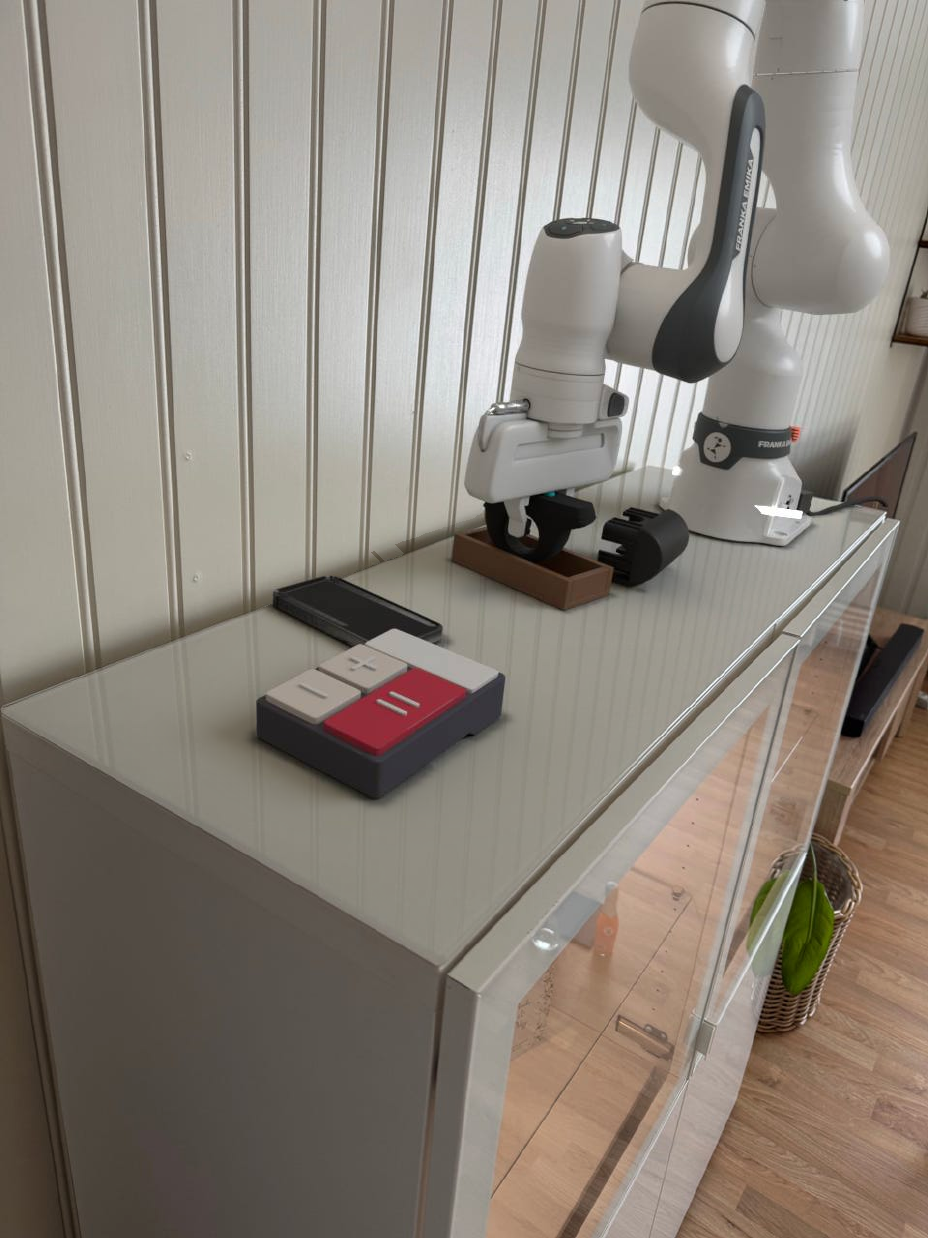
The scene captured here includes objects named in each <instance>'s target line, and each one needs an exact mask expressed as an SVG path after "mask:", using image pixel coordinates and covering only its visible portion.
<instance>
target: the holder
mask: <svg viewBox="0 0 928 1238" xmlns="http://www.w3.org/2000/svg"><path fill="white" fill-rule="evenodd" d="M518 539H519V540H520V541H521V543H522V544H523V545H525V546H526V547H528V548H531V549H533V548H535V547H536V546H537V544H538V539H539V536H535V535H533V534H531V533H530V534H529V535H526V536H522V537H518ZM451 551H452V552H451V561H452V562H455V563H456V564H459V565H461V566H463V567H466V568H468V569H470V570H472V571H475V572H477V573H479V574H482V575H484V576H485V577H488V578H490V579H493V580H495V581H497V582H499V583H501V584H504V585H505V586H508V587H510V588H513V589H514V590H516V591H519V592H522V593H524V594H526V595H528V596H530V597H533V598H534V599H537V600H539V601H542V602H544V603H546V604H548V605H551V606H553V607H555V608H557V609H558V610H559V609H560V610H562V611H566V610H569V609H572V608H576V607H578V606H581V605H584V604H587V603H589V602H592V601H595V600H599V599H601V598H604V597H607V596H609V594H610V589H611V584H612V582H611V580H612V574H613V569H614V567H611V566H609V565H606V564H604V563H601V562H599V561H597V559H594V558H591V557H588V556H587V555H583V554H581V553H579V552H576V551H573V550H570V549H568V548H566V547H564V548H563V549H562V550H561V551H560V552H559V553H558V554H557V555H555V556H554V557H552V558H550V559H548V560H546V561H544V562H541V563H537V564H534V563H531V562H529V561H527V560H524V559H522V558H519V557H517V556H515V555H512V554H510V553H507V552H505V551H503V550H500V549H498V548H497V547H496V546H495V545H494V543H493V542H492V540H491V538H490V536H489V533H488V530H487V526H483V527H482V526H481V527H478V528H474V529H473V528H472V529H469V530H464V531H461V532H455V533H454V535H453V543H452V550H451Z"/></svg>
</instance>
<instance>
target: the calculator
mask: <svg viewBox="0 0 928 1238" xmlns="http://www.w3.org/2000/svg"><path fill="white" fill-rule="evenodd" d="M505 686H506V675H505V674H504V673H502V672H500V671H498V670H497V669H495V668H493V667H490V666H488V665H485V664H483V663H480V662H478V661H475V660H474V659H471V658H469V657H465V656H463V655H460V654H458V653H456V652H454V651H451V650H449V649H447V648H444V647H441V646H439V645H436V644H435V643H434V644H432V643H429V642H427V641H425V640H422V639H420V638H417V637H415V636H412V635H410V634H408V633H405V632H403V631H400V630H397V629H391V630H389V631H387V632H385V633H383V634H381V635H379V636H378V637H376V638H374V639H372V640H370V641H368V642H366V643H364V644H359V645H356V646H354V647H353V646H351V647H350V648H348V649H346V650H345V651H342V652H341V653H339V654H337V655H335V656H333V657H331V658H329V659H327V660H326V661H324V662H321V663H320V664H319V665H318V667H316V668H310V669H308V670H306V671H304V672H302V673H300V674H298V675H297V676H295V677H292V678H290V679H288V680H287V681H285V682H283V683H281V684H279V685H277V686H275V687H273V688H271V689H269V690H268V691H266V692H265V694H264V695H262V696H260V697H259V698H257V699H256V700H255V701H256V704H255V705H256V706H255V710H256V711H255V714H256V736H257V738H259V739H260V740H262V741H263V742H266V743H268V744H270V745H271V746H273V747H275V748H277V749H278V750H281V751H282V752H285V753H287V754H289V755H290V756H292V757H294V758H296V759H297V760H300V761H301V762H303V763H306V764H307V765H309V766H311V767H313V768H315V769H316V770H318V771H320V772H322V773H324V774H326V775H328V776H330V777H331V778H334V779H335V780H337V781H339V782H341V783H343V784H344V785H346V786H349V787H350V788H352V789H354V790H356V791H358V792H360V793H361V794H364V795H365V796H367V797H369V798H372V799H380V798H382V797H383V796H384V795H386V794H387V793H388V792H390V791H391V790H392V789H394V788H396V787H397V786H399V784H401V783H402V782H404V781H405V780H407V779H408V778H409V777H411V776H412V775H413V774H415V773H416V772H418V771H419V770H420V769H422V768H423V767H425V766H426V765H427V764H428V763H431V761H433V760H435V758H437V757H438V756H440V755H441V754H442V753H444V752H445V751H446V750H448V749H449V748H451V747H452V746H454V745H455V744H456V743H457V742H459V741H460V740H462V739H463V738H465V737H466V736H467V735H473V736H475V735H477V734H478V733H480V732H482V731H483V730H485V729H486V728H487V727H488V726H489V725H491V724H492V723H494V722H495V721H496V720H498V719H499V718H500V717H501V716H502V710H503V701H504V694H505Z"/></svg>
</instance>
